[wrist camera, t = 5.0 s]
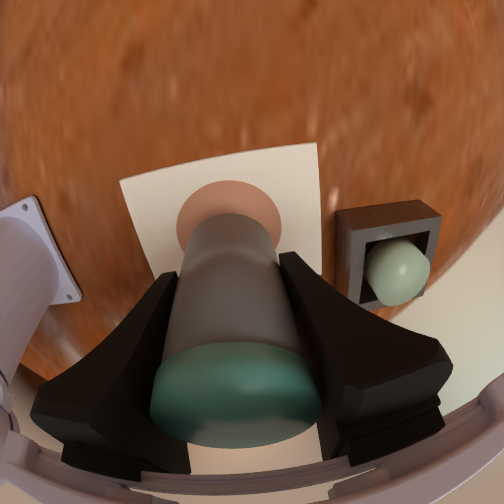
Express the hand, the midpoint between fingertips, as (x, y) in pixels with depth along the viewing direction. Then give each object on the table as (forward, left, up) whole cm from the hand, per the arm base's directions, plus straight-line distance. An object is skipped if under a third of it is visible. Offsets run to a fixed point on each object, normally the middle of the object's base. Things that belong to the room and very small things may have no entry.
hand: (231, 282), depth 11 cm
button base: (+9, -3, -5) cm, 11 cm away
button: (+9, -3, -3) cm, 10 cm away
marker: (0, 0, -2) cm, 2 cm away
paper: (0, 0, -5) cm, 5 cm away
